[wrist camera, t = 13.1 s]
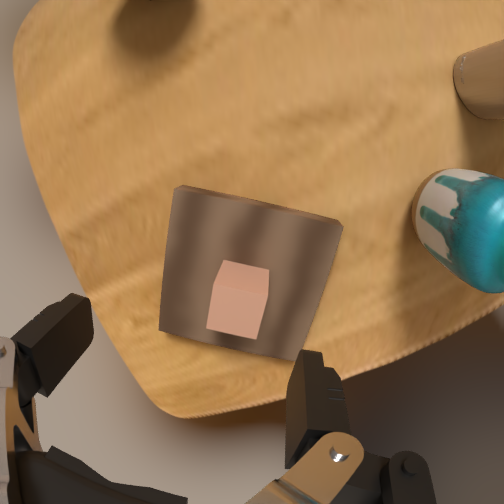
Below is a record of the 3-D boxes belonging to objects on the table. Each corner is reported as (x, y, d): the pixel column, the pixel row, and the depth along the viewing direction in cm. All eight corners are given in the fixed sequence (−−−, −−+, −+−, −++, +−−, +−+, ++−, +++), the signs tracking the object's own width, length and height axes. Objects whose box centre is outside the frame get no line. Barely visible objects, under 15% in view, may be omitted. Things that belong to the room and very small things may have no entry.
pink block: (269, 269, 33) (268, 295, 27) (259, 309, 35) (256, 339, 29) (223, 259, 33) (213, 283, 27) (216, 299, 35) (206, 328, 29)
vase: (456, 152, 30) (572, 174, 12) (474, 229, 33) (572, 290, 14) (387, 181, 32) (491, 223, 14) (411, 260, 35) (496, 349, 17)
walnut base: (337, 220, 34) (343, 227, 31) (295, 347, 40) (296, 361, 37) (182, 185, 34) (174, 188, 31) (165, 318, 40) (158, 330, 37)
